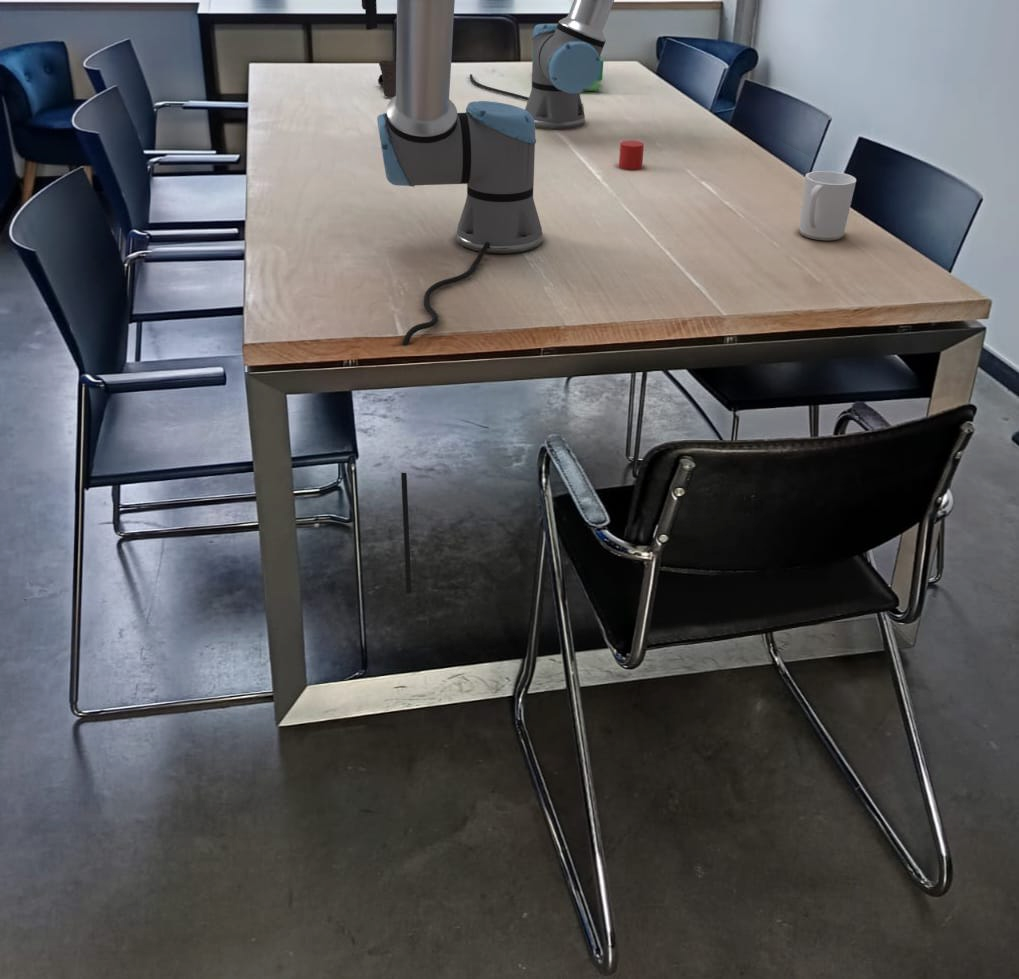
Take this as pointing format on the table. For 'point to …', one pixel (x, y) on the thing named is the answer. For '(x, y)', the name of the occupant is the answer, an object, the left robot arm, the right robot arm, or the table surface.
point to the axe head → (388, 77)
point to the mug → (826, 204)
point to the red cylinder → (631, 155)
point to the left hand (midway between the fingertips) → (402, 32)
